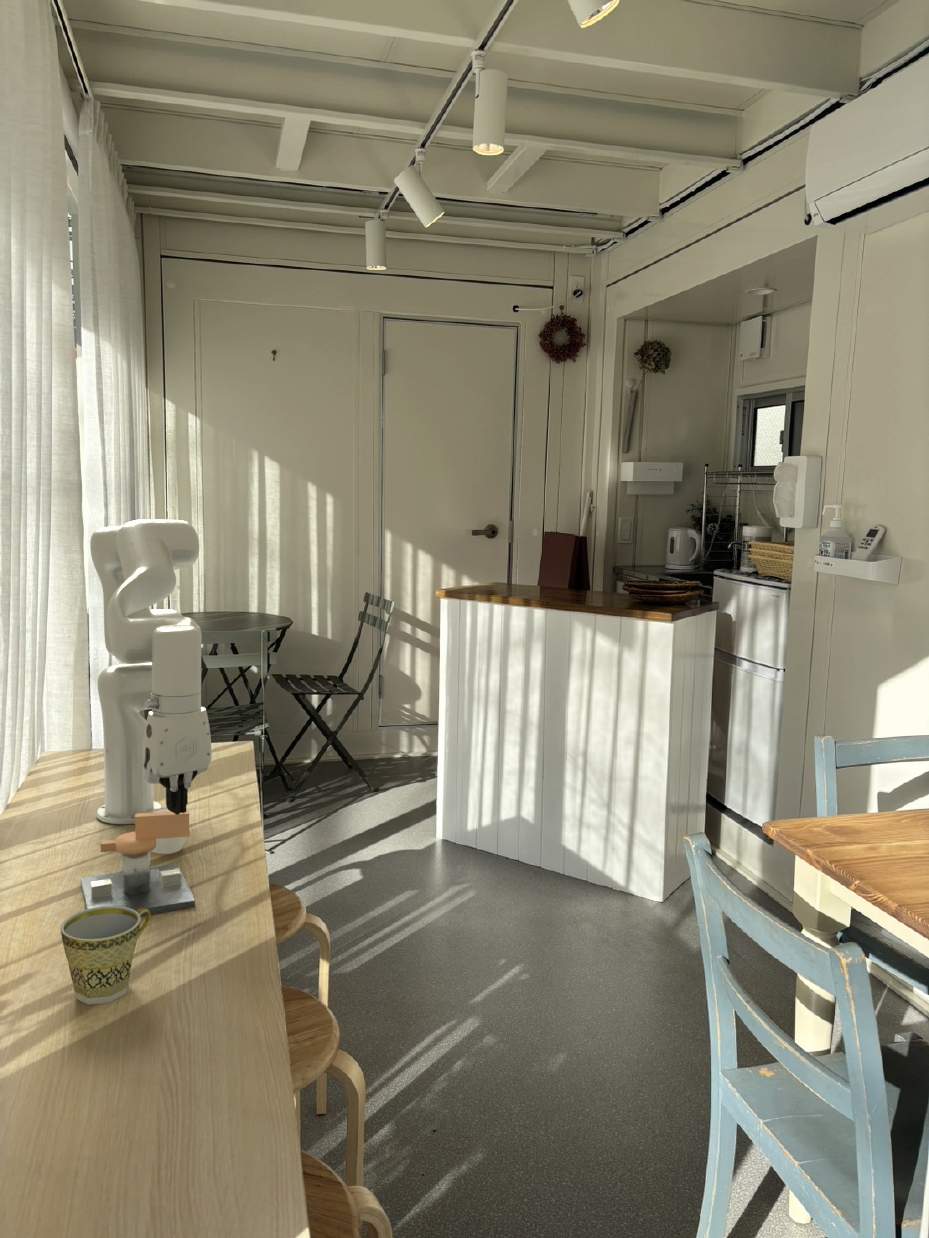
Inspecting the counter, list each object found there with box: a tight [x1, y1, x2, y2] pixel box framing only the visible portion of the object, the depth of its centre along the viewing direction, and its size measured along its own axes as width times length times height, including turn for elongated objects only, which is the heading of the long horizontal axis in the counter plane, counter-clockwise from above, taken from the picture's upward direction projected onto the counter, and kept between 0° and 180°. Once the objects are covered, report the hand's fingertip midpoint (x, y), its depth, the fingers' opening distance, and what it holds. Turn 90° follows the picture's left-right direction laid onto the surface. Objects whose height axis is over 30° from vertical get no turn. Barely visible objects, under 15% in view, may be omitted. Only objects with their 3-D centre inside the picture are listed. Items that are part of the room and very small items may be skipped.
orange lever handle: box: [100, 809, 190, 855], centre depth 154 cm, size 14×6×6 cm, turn 106°
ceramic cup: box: [60, 906, 152, 1006], centre depth 126 cm, size 13×10×10 cm
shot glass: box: [149, 806, 184, 855], centre depth 175 cm, size 7×7×7 cm
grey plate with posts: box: [80, 851, 196, 917], centre depth 154 cm, size 16×16×8 cm
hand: (176, 810), depth 152 cm, fingers closed
